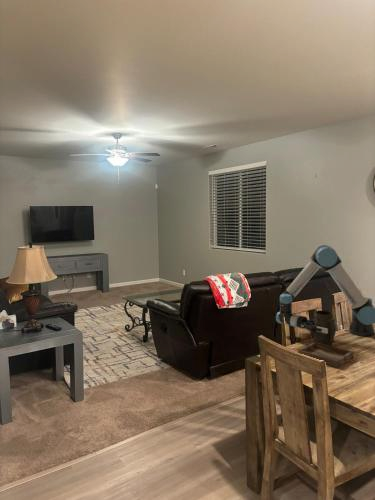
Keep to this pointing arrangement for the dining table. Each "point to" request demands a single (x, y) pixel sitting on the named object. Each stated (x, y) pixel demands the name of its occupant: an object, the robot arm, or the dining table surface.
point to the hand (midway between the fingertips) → (332, 328)
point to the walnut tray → (327, 354)
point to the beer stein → (324, 321)
